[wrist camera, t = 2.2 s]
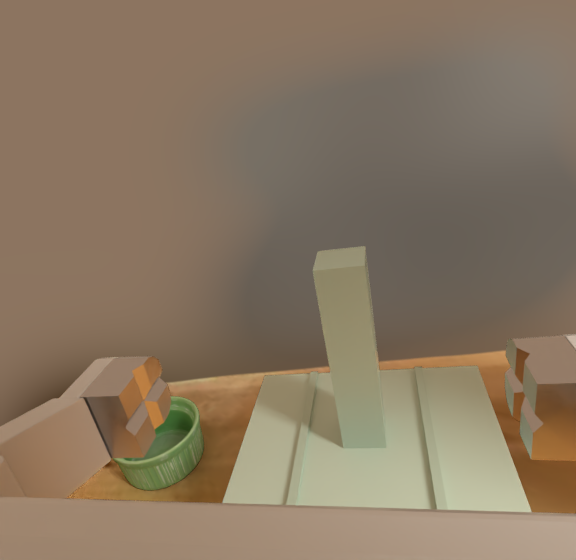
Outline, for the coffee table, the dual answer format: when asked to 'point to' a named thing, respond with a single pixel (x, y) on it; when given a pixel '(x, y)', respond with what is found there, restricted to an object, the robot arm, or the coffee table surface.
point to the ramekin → (168, 449)
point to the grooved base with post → (372, 423)
